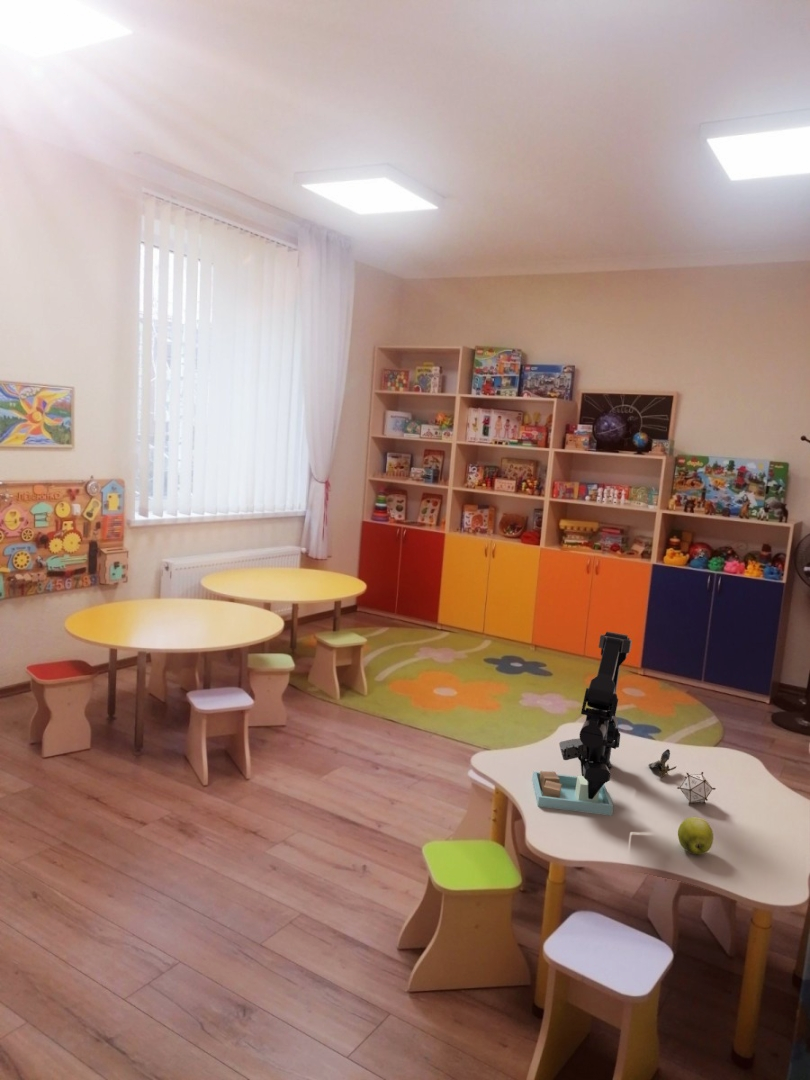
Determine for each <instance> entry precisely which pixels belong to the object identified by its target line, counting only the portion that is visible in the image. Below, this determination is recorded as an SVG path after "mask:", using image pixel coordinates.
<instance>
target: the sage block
mask: <svg viewBox="0 0 810 1080" xmlns="http://www.w3.org/2000/svg"><path fill="white" fill-rule="evenodd" d="M576 777H577V782H576V789H575V795H576V798H577V800H580V801H588V802H596V803H598V798H599V792H600V790H599V791H598V792H597V794H596V795H595V796H594V798H593V799H588V784H587V780H586V779H585V778H584V776H582V775H577V776H576Z"/></svg>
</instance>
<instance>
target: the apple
mask: <svg viewBox="0 0 810 1080" xmlns="http://www.w3.org/2000/svg"><path fill="white" fill-rule="evenodd" d="M712 829H713V828H712V827H711V826H710V824H709V822H708V821H706V820H705V819H703V818H700V817H694V816H693V817H689V818H688V817H687V818H686V819H684V820H683V821H682V822H681V824H680V825H679V827H678V830H677V837H678V838H677V839H678V841H679V844H680V846H681V847H682V848H683V849H684V850H685V851H687V852H688V853H690V854H692V855H702V854H705V853H707V852H708V851H710V849H711V848H712V846H713V844H714V832H713V830H712Z"/></svg>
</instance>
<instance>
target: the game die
mask: <svg viewBox="0 0 810 1080" xmlns="http://www.w3.org/2000/svg"><path fill="white" fill-rule="evenodd" d="M684 778H685V779H684V780H683V782H682V783H681V785H680V787H679V786H678V787H676V789H678V790H680V791H681V793H682V794H683V795H684V796H685V797H686V799H687V801H688V802H689V803H688V806H691V804H692V803H694V804H695V803H703V804H704V805H707V804H706V803H707V802H708V801H709V799H708V797H709V796H710V795H711V793H712V791H714V790H716V789H717V788H715V787H712V786H711V784H710V782H709V781H708V780H707V779H706V777H705V776H704V771H701V772H700V773H699V774H697V773H696V774H690V773H689V772H686V776H685V777H684Z"/></svg>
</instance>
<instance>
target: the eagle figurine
mask: <svg viewBox="0 0 810 1080" xmlns="http://www.w3.org/2000/svg"><path fill="white" fill-rule="evenodd" d="M670 755H671V751H670V749H665V751H663V752H662V753H661V756H660V760H656V761H653V762H651V763H649V764H647V766H648V767H650V768H657V770H658V773H660V777H659V778H660V779H662V778H663V777H664V776H665V775H666V774H667V775H669V772H670V771H673V770H676V768H677V765H675V766H673V767H670V766H669V764H667V765H666V763H667V762H668V761H669V759H670Z"/></svg>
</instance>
